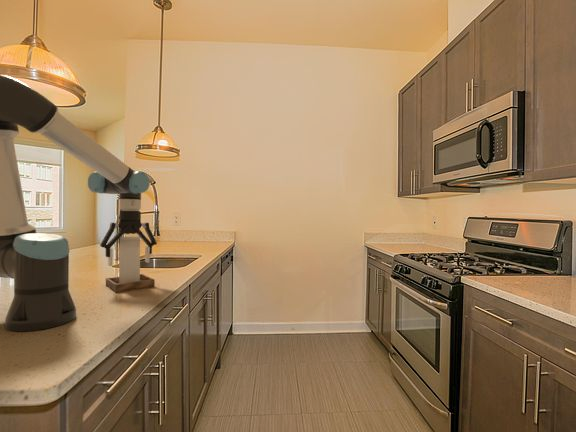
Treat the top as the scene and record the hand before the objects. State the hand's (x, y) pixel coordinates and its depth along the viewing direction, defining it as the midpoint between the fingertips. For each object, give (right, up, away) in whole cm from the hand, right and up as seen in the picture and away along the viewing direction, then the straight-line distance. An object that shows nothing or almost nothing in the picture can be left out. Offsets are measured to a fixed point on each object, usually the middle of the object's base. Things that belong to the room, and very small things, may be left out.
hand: (129, 264), depth 126 cm
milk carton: (0, -8, 0) cm, 8 cm away
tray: (0, -9, 0) cm, 9 cm away
